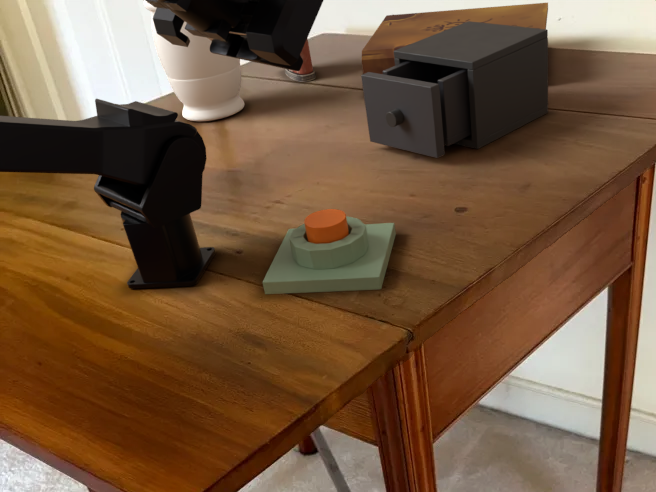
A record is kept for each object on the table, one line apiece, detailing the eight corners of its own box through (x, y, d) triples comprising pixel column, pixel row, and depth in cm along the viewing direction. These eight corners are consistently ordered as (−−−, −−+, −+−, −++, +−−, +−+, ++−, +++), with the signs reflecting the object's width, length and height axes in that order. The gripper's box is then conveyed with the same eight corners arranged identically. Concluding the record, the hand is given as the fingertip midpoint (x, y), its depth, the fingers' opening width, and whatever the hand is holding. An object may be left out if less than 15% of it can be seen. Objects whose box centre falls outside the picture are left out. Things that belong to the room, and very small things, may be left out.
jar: (264, 98, 114) (239, -22, 105) (233, 124, 106) (203, -2, 97) (196, 100, 117) (166, -16, 108) (161, 126, 109) (126, 4, 100)
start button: (345, 245, 69) (341, 226, 68) (303, 247, 70) (300, 228, 69) (352, 226, 72) (349, 207, 71) (312, 228, 73) (308, 210, 72)
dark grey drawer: (429, 162, 86) (422, 91, 81) (362, 145, 92) (352, 78, 88) (506, 122, 92) (504, 54, 88) (438, 109, 99) (433, 45, 94)
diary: (366, 98, 108) (360, 52, 105) (391, 57, 122) (386, 15, 119) (544, 86, 103) (543, 37, 100) (548, 44, 118) (548, 0, 114)
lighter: (280, 71, 123) (266, -1, 117) (301, 66, 124) (288, -6, 118) (298, 83, 117) (284, 7, 111) (320, 77, 118) (307, 2, 112)
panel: (381, 289, 68) (376, 257, 66) (265, 294, 69) (257, 262, 68) (396, 234, 75) (392, 203, 74) (291, 240, 77) (284, 210, 75)
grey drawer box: (477, 149, 89) (472, 62, 84) (402, 132, 97) (393, 50, 91) (548, 112, 96) (547, 29, 90) (472, 98, 103) (468, 20, 97)
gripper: (279, -145, 58) (406, -11, 70) (143, -136, 69) (272, -22, 81) (216, 5, 59) (352, 111, 71) (92, -10, 70) (228, 84, 82)
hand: (299, 65), depth 76 cm, fingers closed
